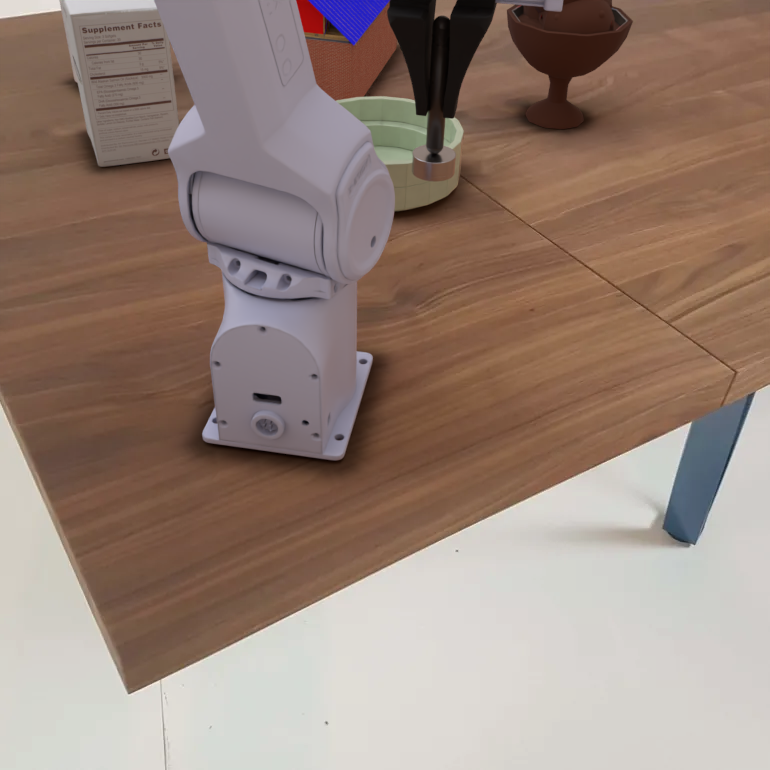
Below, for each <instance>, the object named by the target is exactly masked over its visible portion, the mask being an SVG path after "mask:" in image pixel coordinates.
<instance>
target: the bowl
mask: <svg viewBox="0 0 770 770" xmlns="http://www.w3.org/2000/svg"><path fill="white" fill-rule="evenodd" d="M336 102H338V103H339V104H340V105H341V106H343V107H344V108H345V109H346V110H348V111H349V112H350V113H351V114H353V115H354V116H355V117H356V118H357V119H358V120H360V121H361V122H362V123H363V124H364V125H366V126H367V127H368V129H369V130H370V131H371V136H372V141H373V145H374V149H375V152H376V155H377V156H378V158H379V159H380V160H381V161H382V162H383V163H384V164H385V165H386V167H387V169H388V172H389V175H390V178H391V180H392V182H393V186H394V192H395V209H394V213H395V212H403V211H409V210H414V209H417V208H421V207H425V206H428V205H431V204H433V203H435V202H438V201H440V200H442V199H445V198H446V197H448V196H449V195H450V194H451V193H452V192H453V191H454V190H455V189H456V188H457V187H458V185H459V182H460V176H461V170H462V158H463V148H464V147H463V146H464V134H465V130H464V128H463V126H462V124H461V122H460V120H459V119H458V118H456V117H455V116H454V118H452V119H451V118H445V131H444V146H447V147H449V148H451V149H453V150H454V151H455V153H456V161H455V173H454V175H453V177H451V178H450V179H448V180H444V181H436V182H434V181H425V180H422V179H419V178H417V177H415V176H414V175H413V173H412V153H413V150H414V149H415V148H417V147H419V146H422V145H426V136H427V118H428V112H427V115H426V116H420V115H416V107H415V99H411V98H406V97H397V96H396V97H395V96H386V95H385V96H384V95H377V96H376V95H375V96H364V97H355V98H348V99H342V100H336Z"/></svg>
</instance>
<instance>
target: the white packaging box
mask: <svg viewBox="0 0 770 770" xmlns="http://www.w3.org/2000/svg"><path fill="white" fill-rule="evenodd" d="M62 4H63V9H64V15H65V20H66V25H67V30H68V35H69V40H70V45H71V51H72V56H73V61H74V66H75V71H76V76H77V82H78V83H77V82H76V83H77V86H78V91H79V97H80V101H81V107H82V114H83V117H84V122H85V123H84V124H85V128H86V133H87V135H88V137H89V139H90V142H91V146H92V148H93V151H94V155H95V158H96V163H97V166H98V167H101V168H106V167H115V166H120V165H121V166H122V165H129V164H138V163H146V162H152V161H159V160H167V159H168V160H169V159H170V156H169V154H168V149H169V146H170V144H171V142H172V139H173V137H174V134H175V132H176V130H177V128H178V126H179V124H180V119H179V109H178V103H177V94H176V93H177V92H176V85H175V84H176V83H175V77H174V70H173V68H174V67H173V60H172V51H171V43H170V40H169V38H168V35H167V32H166V30H165V27H164V25H163V22H162V20H161V17H160V15H159V12H158V9H157V7H156V4H155V2H154V0H62Z"/></svg>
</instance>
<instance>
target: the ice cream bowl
mask: <svg viewBox="0 0 770 770" xmlns="http://www.w3.org/2000/svg"><path fill="white" fill-rule="evenodd" d="M506 19H507V28H508V32H509V34H510V37H511V39H512V42H513V44H514V45H515V47H516V48H517V50H518V52H519V53H520V54H521V56H522V57H523V58H524V60H525V61H526V62H527V63H528V64H529V66H531V67H532V68H533V69H535V70H536V71H537V72H540V73H541V74H544V75H547V76H548V80H549V86H548V94H547V97H546V98H544V99H541V100H538V101H536V102H534V103H532V104H531V105H530V106H529V107H528V108H527V109H526V111H525V113H524V115H525V117H526V119H527V121H528V122H529V123H532V124H534V125H536V126H538V127H541V128H544V129H545V128H547V129H553V130H567V129H572V128H578V127H579V126H580V125H581V124H582V123H583V122H584V121H585V120H584V114H583V113H582V111H581V110H580V107H577V106H576V105H575V104H573V103H572V102H571V101H569V100H567V99H568V93H569V92H568V91H569V84H570V83H571V81H572V79H573V78H577V77H583V76H586V75H588V74H590V73H592V72H594V71H596V70H597V69H598V68H600V67H601V66H602V65H604V64H605V62H607V61H608V60H609V59H610V58H612V57H613V56H614V55H615V54H616V53H618V51H619V50H620V48H621V47H622V45H623V44H624V42H625V41H626V40H627V38H628V35H629V32H630V30H631V27H632V26H633V22H634V20H633V19H632V18H631V17H630V16H629V15H628V14H627V13H626V12H625V11H624V10H623V9H621V8H620V7H616V6H613V0H563V6H562V11H561V12H557V11H546V10H545V9H544V7H538V6H526V5H512V6H511V7H509V8H507V9H506Z"/></svg>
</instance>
